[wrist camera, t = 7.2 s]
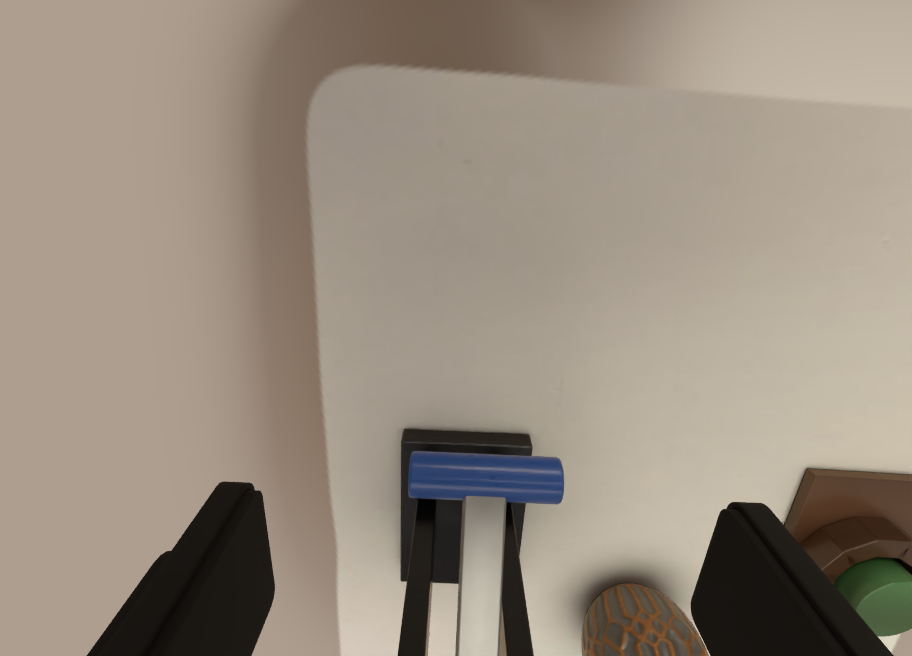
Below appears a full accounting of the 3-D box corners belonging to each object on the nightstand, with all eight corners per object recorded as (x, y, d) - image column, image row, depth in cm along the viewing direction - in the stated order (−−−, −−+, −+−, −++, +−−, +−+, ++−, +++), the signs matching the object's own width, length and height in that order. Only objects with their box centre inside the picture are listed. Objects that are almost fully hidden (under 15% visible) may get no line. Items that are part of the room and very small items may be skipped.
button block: (806, 467, 27) (840, 498, 24) (944, 476, 27) (991, 507, 24) (746, 619, 31) (770, 658, 28) (866, 626, 31) (899, 665, 29)
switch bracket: (403, 428, 26) (301, 923, 9) (529, 433, 26) (653, 935, 9) (402, 565, 29) (326, 1104, 13) (513, 570, 29) (583, 1113, 13)
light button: (844, 553, 26) (870, 580, 24) (915, 557, 26) (945, 585, 24) (820, 606, 27) (843, 634, 26) (887, 609, 28) (914, 639, 26)
